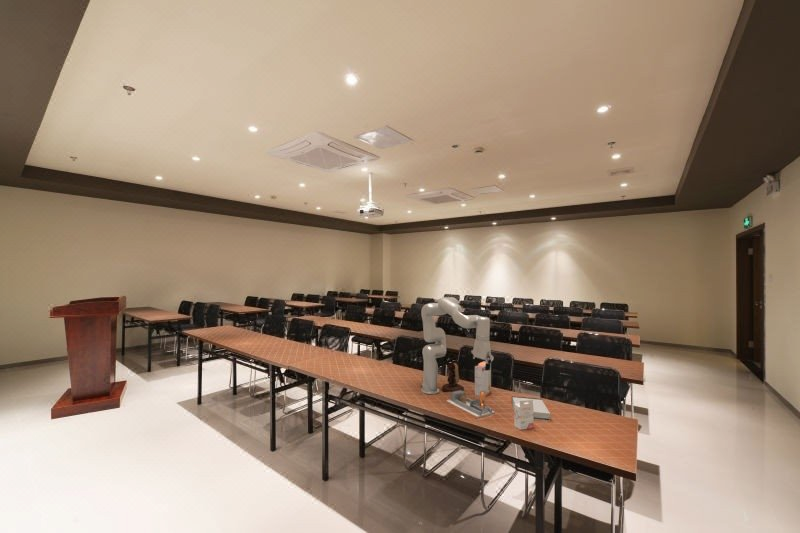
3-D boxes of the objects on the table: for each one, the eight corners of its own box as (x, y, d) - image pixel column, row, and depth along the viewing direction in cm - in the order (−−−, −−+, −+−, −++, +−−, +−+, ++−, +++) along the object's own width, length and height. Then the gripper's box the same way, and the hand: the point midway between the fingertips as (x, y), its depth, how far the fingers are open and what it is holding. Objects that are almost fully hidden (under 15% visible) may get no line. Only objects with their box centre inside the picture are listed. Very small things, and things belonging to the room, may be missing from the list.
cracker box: (482, 391, 232) (483, 360, 233) (491, 393, 229) (491, 362, 229) (473, 396, 221) (474, 364, 222) (482, 399, 218) (482, 366, 218)
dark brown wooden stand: (459, 396, 222) (459, 365, 223) (438, 391, 230) (439, 362, 231) (467, 390, 235) (467, 361, 236) (447, 386, 243) (447, 357, 243)
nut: (458, 402, 207) (458, 395, 207) (463, 401, 209) (463, 394, 209) (462, 404, 203) (463, 397, 203) (468, 403, 205) (468, 396, 205)
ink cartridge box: (527, 424, 181) (527, 396, 181) (533, 428, 176) (534, 399, 177) (513, 426, 178) (514, 397, 179) (519, 430, 174) (519, 401, 174)
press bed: (445, 403, 209) (446, 392, 209) (463, 399, 216) (463, 389, 216) (476, 419, 186) (476, 407, 186) (494, 414, 193) (495, 403, 193)
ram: (469, 408, 196) (470, 389, 197) (477, 406, 199) (478, 388, 200) (480, 413, 189) (480, 394, 189) (488, 411, 192) (489, 392, 192)
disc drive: (541, 407, 207) (541, 398, 208) (550, 422, 185) (550, 413, 186) (511, 404, 211) (511, 396, 211) (516, 418, 189) (516, 409, 189)
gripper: (467, 336, 202) (466, 364, 202) (488, 341, 187) (487, 372, 187) (477, 335, 206) (476, 363, 206) (498, 340, 191) (497, 371, 191)
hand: (481, 368), depth 196 cm, fingers open, 9 cm apart
